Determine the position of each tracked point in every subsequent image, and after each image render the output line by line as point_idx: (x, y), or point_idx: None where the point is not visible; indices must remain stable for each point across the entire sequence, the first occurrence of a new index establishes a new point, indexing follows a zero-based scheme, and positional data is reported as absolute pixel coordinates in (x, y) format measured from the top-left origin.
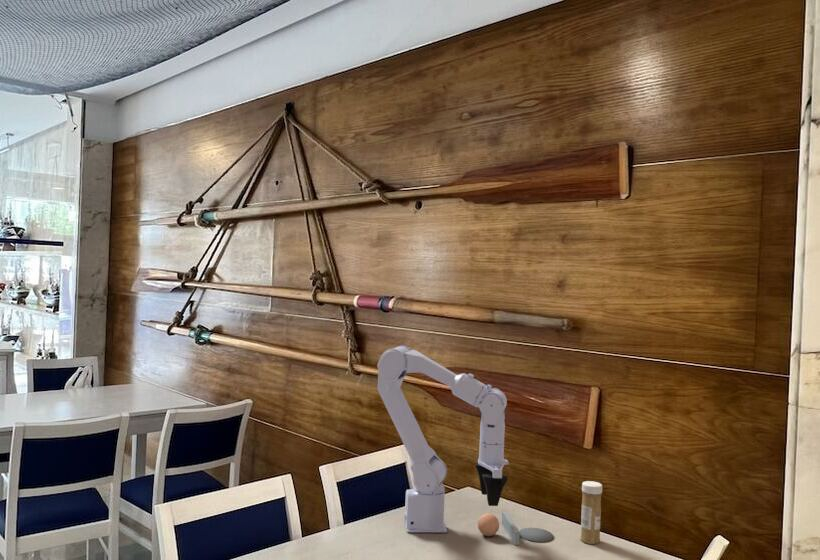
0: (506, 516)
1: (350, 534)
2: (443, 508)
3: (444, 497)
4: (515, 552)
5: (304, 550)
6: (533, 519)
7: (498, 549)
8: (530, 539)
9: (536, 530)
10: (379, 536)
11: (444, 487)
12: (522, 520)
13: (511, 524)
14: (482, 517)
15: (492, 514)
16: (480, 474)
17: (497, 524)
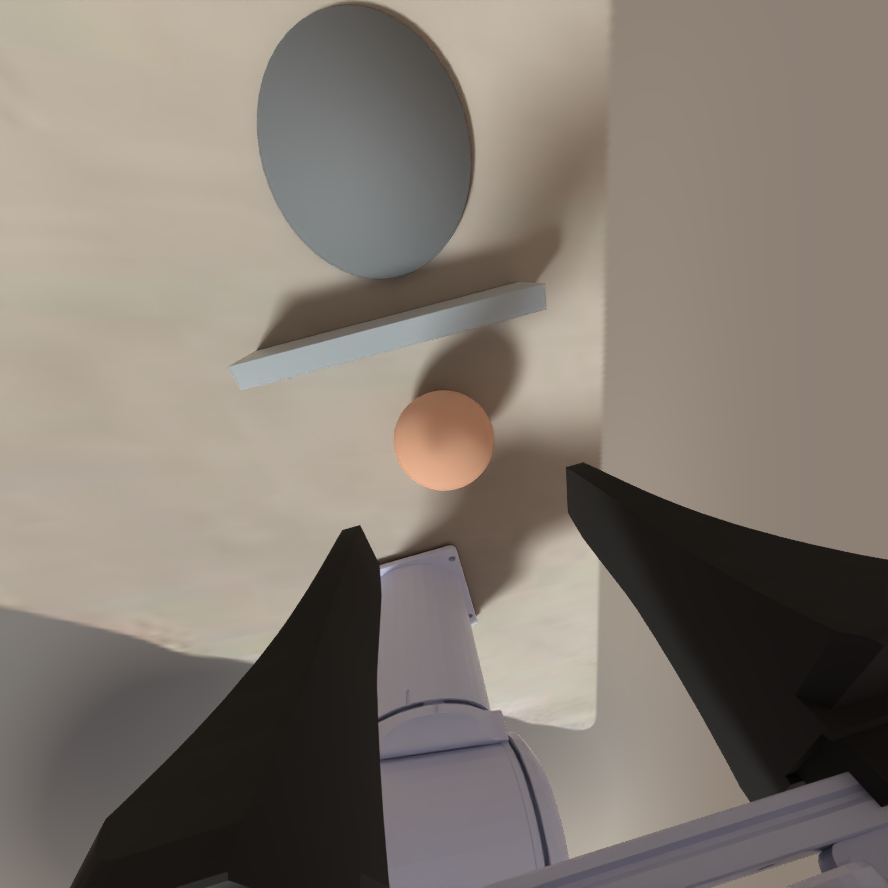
0: (324, 362)
1: (504, 687)
2: (430, 623)
3: (421, 668)
4: (594, 301)
5: (584, 704)
6: (65, 153)
7: (567, 372)
8: (458, 211)
9: (305, 151)
10: (506, 651)
11: (404, 722)
12: (143, 245)
13: (443, 331)
14: (466, 483)
15: (440, 448)
16: (374, 748)
17: (470, 405)
